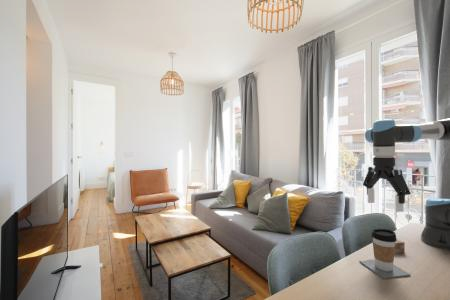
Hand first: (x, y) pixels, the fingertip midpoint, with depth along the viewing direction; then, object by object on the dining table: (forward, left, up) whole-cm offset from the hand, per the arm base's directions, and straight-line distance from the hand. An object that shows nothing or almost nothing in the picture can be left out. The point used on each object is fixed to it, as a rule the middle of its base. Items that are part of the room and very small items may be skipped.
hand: (384, 206), depth 92 cm
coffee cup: (+2, +2, -25) cm, 25 cm away
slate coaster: (+2, +2, -25) cm, 25 cm away
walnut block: (-17, -11, -25) cm, 32 cm away
